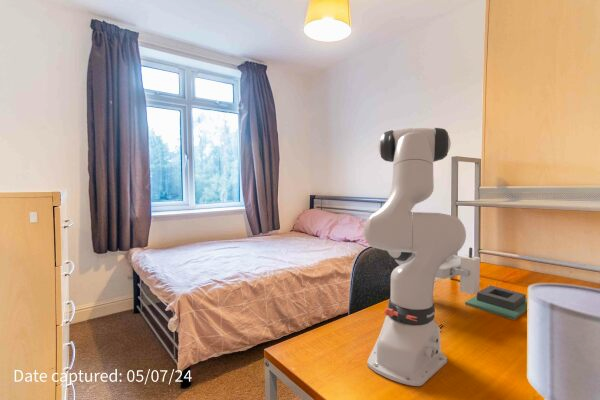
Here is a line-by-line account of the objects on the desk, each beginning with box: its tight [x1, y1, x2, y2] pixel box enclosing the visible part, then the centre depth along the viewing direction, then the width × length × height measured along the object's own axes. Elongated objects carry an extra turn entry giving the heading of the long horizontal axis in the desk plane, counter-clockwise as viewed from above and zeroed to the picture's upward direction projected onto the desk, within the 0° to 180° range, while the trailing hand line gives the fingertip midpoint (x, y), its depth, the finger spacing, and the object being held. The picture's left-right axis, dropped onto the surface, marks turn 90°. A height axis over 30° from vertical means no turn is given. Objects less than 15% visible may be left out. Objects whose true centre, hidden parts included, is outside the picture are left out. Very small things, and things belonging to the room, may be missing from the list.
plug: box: [459, 247, 481, 296], centre depth 105 cm, size 4×4×16 cm
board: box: [464, 285, 528, 321], centre depth 115 cm, size 22×16×4 cm
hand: (472, 272), depth 104 cm, fingers closed on plug, 4 cm apart
